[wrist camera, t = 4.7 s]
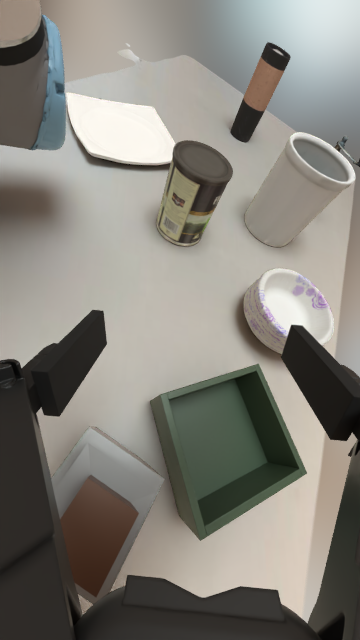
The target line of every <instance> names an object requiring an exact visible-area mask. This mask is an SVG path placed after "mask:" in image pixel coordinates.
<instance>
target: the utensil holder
mask: <svg viewBox="0 0 360 640" xmlns="http://www.w3.org/2000/svg"><path fill="white" fill-rule="evenodd" d="M354 180H355V172H354V170H353V168H352V166H351V164H350V163H349V162H348V160H347V159H346V158H345V157H344V156H343V155H342V154H341V153H340V152H338V151H337V150H336V149H335V148H334V147H332V146H331V145H329V144H328V143H326V142H325V141H323V140H321V139H319V138H317V137H315V136H313V135H310V134H307V133H301V132H298V133H294V134H292V135H291V136H290V138H289V139H288V141H287V143H286V146H285V149H284V150H283V152H282V153H281V155H280V156H279V158H278V160H277V161H276V163H275V165H274V166H273V168H272V169H271V171H270V173H269V174H268V176H267V178H266V179H265V181H264V182H263V184H262V186H261V187H260V189H259V191H258V192H257V194H256V196H255V197H254V199H253V201H252V202H251V204H250V206H249V208H248V209H247V211H246V213H245V223H246V226H247V228H248V230H249V231H250V232H251V233H252V235H253V236H255V237H256V238H257V239H258V240H260V241H261V242H263V243H265V244H267V245H269V246H273V247H282V246H285V245H287V244H288V243H289V242H290V241H291V240H292V239H293V238H294V237H296V236H297V235H298V234H299V233H300V232H301V231H302V230H303V229H304V228H305V227H306V226H307V225H308V224H309V223H310V222H311V221H312V220H313V219H314V218H315V217H316V216H317V215H318V214H319V213H320V212H321V211H322V210H323V209H324V208H325V207H326V206H327V205H328V204H329V203H330V202H331V201H332V200H333V199H335V198H336V197H337V196H338V195H339V194H340V193H341V192H342V191H343V190H344V189H346V188H348V187H349V186H350V185H351V184H352V183H353V182H354Z"/></svg>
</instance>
